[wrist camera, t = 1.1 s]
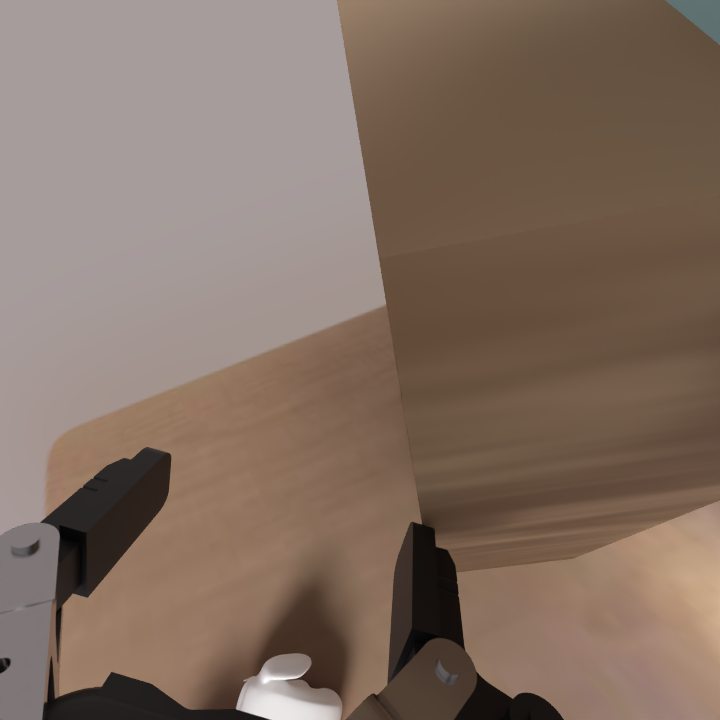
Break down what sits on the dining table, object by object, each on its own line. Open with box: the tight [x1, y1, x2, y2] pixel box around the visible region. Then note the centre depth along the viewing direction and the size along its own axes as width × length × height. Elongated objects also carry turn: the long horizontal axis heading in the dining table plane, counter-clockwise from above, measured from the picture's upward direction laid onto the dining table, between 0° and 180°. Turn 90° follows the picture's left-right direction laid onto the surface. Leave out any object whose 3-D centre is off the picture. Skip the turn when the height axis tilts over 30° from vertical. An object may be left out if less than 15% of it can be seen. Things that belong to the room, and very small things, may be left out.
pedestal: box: [337, 0, 720, 572], centre depth 21 cm, size 16×10×32 cm, turn 6°
